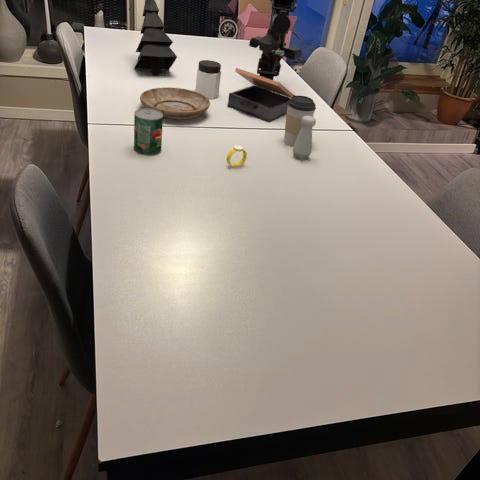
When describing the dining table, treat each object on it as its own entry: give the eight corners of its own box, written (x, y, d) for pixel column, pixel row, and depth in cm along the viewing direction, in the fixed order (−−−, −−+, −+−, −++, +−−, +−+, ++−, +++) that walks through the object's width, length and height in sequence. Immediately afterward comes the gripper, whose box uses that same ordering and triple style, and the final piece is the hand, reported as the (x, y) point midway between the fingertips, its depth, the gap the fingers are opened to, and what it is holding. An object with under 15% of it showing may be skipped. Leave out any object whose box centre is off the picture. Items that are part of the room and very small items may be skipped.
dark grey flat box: (251, 97, 195) (253, 85, 192) (291, 112, 188) (293, 99, 185) (224, 107, 183) (226, 94, 180) (266, 123, 175) (268, 109, 172)
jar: (222, 98, 191) (226, 66, 184) (205, 100, 186) (208, 67, 179) (208, 90, 196) (211, 58, 189) (191, 92, 191) (193, 60, 184)
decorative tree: (170, 79, 211) (162, -5, 210) (178, 67, 197) (170, -23, 196) (134, 78, 205) (126, -8, 205) (141, 66, 192) (132, -26, 191)
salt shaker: (290, 152, 158) (298, 112, 150) (307, 153, 159) (316, 114, 151) (293, 160, 153) (301, 119, 146) (311, 162, 154) (320, 121, 147)
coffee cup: (310, 141, 167) (320, 97, 159) (304, 151, 160) (314, 105, 151) (284, 134, 169) (292, 90, 160) (277, 144, 162) (285, 98, 153)
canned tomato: (163, 156, 144) (165, 119, 138) (135, 156, 141) (136, 119, 135) (158, 144, 150) (160, 108, 144) (132, 144, 148) (132, 108, 141)
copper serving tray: (253, 84, 192) (254, 81, 192) (294, 98, 185) (295, 95, 185) (234, 71, 178) (236, 67, 178) (277, 85, 171) (279, 82, 170)
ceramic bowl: (171, 95, 186) (171, 82, 183) (222, 115, 176) (223, 101, 173) (125, 109, 169) (125, 94, 166) (178, 131, 160) (179, 116, 157)
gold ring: (240, 163, 147) (244, 144, 144) (246, 167, 146) (250, 148, 142) (223, 165, 144) (227, 145, 141) (229, 169, 142) (232, 149, 139)
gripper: (243, 22, 171) (237, 68, 179) (290, 36, 163) (281, 83, 172) (261, 19, 179) (254, 64, 187) (306, 32, 171) (297, 78, 180)
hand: (271, 72), depth 181 cm, fingers closed
